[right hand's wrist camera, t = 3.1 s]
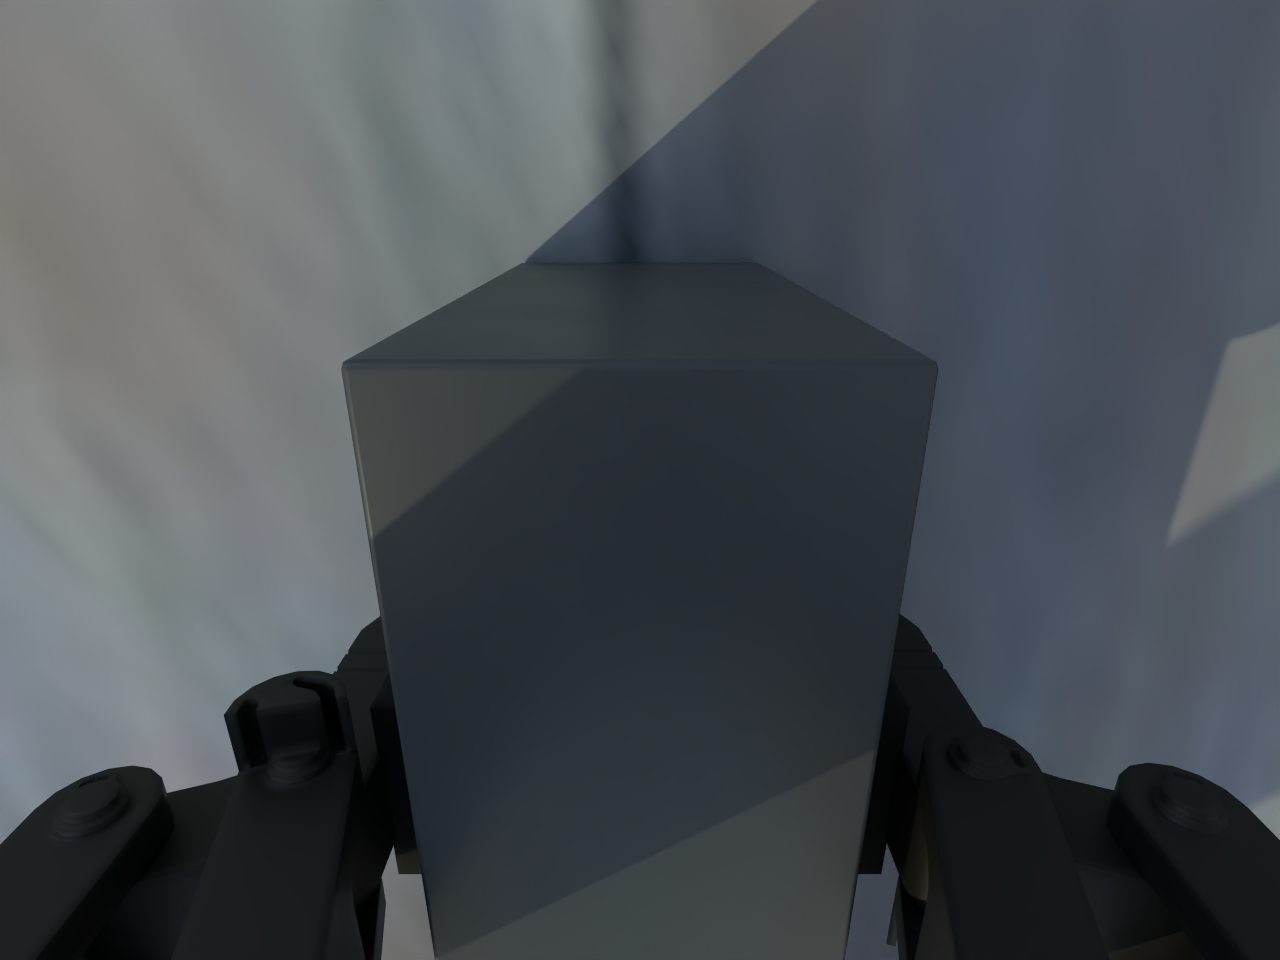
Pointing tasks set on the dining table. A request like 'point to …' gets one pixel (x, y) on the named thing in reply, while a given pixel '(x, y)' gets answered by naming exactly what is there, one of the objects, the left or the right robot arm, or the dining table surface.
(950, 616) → the dining table surface
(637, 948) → the post
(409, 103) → the dining table surface
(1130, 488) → the dining table surface
